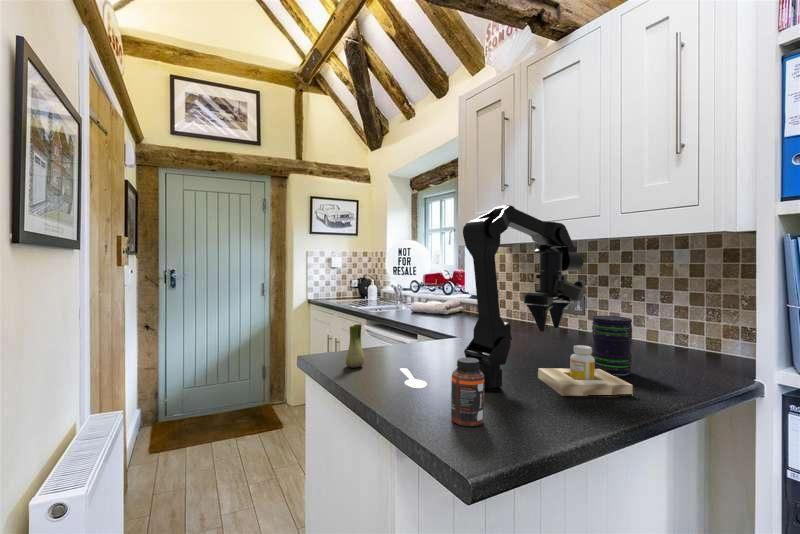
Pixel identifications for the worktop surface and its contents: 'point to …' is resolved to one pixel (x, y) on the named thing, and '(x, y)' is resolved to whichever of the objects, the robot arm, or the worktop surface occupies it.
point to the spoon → (412, 380)
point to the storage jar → (612, 344)
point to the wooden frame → (583, 383)
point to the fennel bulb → (355, 348)
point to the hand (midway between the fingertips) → (549, 329)
